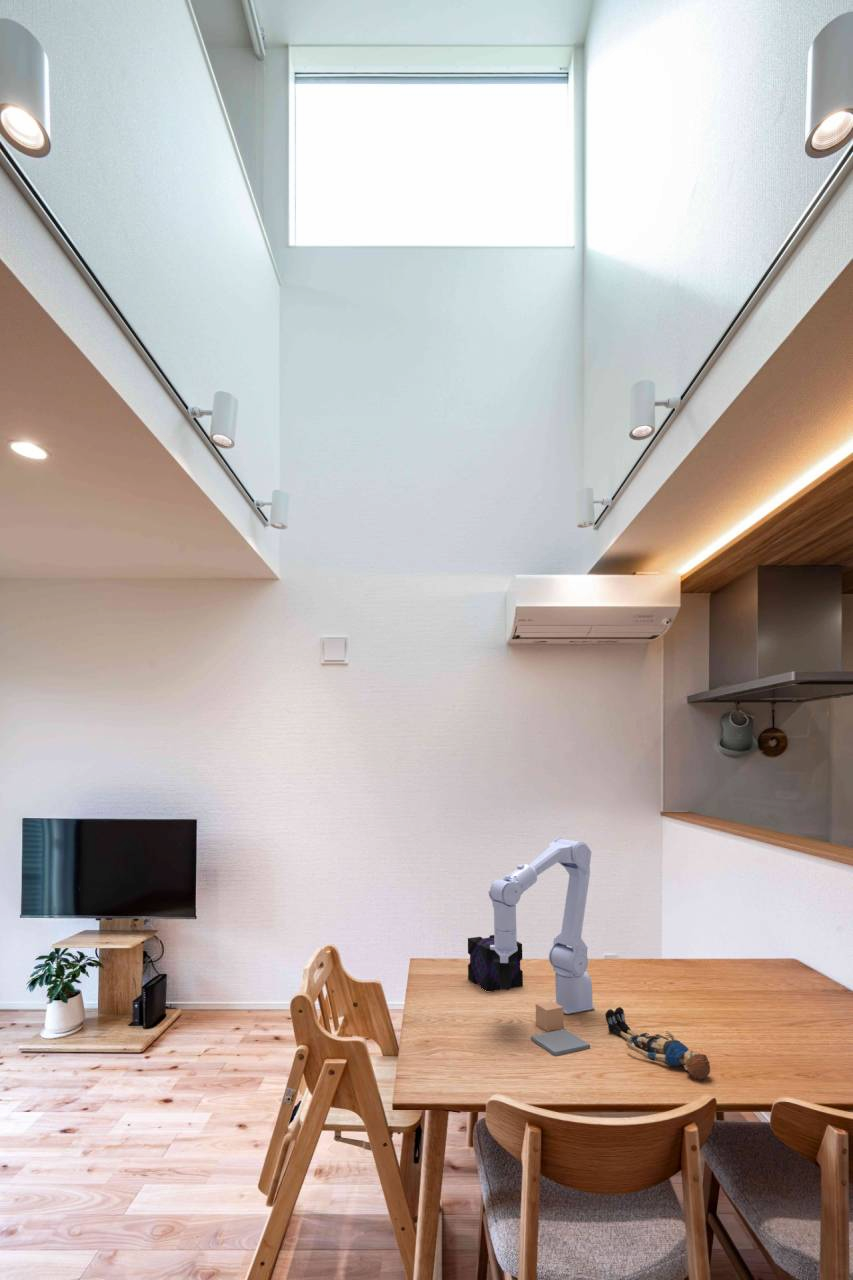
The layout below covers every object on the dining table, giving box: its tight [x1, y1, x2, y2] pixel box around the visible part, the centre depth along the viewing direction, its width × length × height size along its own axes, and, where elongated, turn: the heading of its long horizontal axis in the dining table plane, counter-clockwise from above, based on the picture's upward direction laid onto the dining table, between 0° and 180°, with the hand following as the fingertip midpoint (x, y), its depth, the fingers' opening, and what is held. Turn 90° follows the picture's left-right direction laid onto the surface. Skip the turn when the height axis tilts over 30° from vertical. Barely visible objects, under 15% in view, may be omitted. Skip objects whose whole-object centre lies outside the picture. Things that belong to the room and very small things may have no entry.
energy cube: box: [467, 934, 524, 992], centre depth 213 cm, size 12×12×12 cm
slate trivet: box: [530, 1028, 591, 1057], centre depth 170 cm, size 10×10×1 cm
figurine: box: [605, 1006, 711, 1081], centre depth 165 cm, size 13×6×30 cm
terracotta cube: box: [535, 1000, 565, 1032], centre depth 181 cm, size 5×5×5 cm
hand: (506, 984), depth 182 cm, fingers open, 7 cm apart
